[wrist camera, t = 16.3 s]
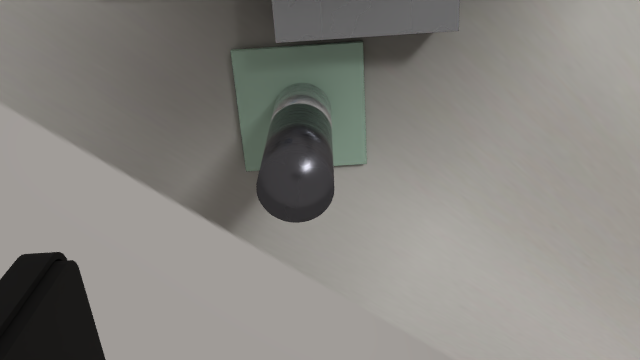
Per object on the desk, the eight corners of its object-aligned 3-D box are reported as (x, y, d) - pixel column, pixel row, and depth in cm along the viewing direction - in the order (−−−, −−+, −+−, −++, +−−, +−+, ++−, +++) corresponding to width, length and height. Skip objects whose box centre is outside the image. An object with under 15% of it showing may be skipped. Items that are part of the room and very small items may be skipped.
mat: (362, 41, 36) (362, 42, 35) (366, 161, 39) (366, 163, 39) (231, 49, 36) (230, 51, 35) (246, 168, 39) (246, 171, 39)
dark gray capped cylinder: (332, 135, 38) (336, 219, 28) (277, 138, 38) (261, 224, 28) (329, 80, 36) (331, 150, 26) (271, 84, 36) (252, 155, 26)
